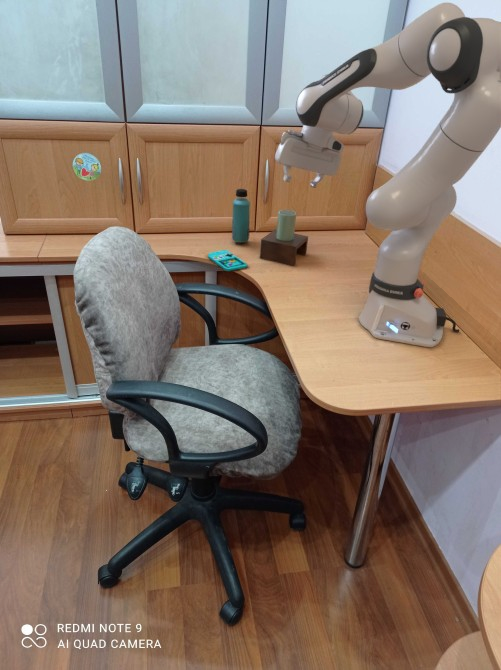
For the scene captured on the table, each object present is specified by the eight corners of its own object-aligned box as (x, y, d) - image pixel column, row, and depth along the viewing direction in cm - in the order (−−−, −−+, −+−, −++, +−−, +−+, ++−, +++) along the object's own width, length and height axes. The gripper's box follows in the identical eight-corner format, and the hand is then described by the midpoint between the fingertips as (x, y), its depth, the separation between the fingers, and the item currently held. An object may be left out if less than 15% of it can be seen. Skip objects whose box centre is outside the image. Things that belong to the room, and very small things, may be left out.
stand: (306, 254, 173) (308, 236, 169) (293, 266, 163) (295, 246, 160) (273, 247, 177) (274, 229, 173) (259, 258, 168) (261, 239, 164)
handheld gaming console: (226, 248, 171) (248, 264, 160) (226, 251, 171) (248, 267, 161) (205, 253, 167) (226, 268, 156) (205, 255, 167) (226, 271, 157)
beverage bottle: (248, 246, 177) (251, 192, 166) (231, 245, 176) (232, 191, 166) (249, 240, 182) (251, 187, 171) (231, 239, 182) (233, 186, 171)
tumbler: (296, 236, 168) (299, 211, 163) (289, 242, 163) (292, 216, 158) (280, 233, 170) (282, 208, 165) (273, 238, 165) (275, 213, 160)
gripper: (288, 130, 130) (273, 180, 137) (349, 147, 139) (331, 193, 146) (280, 125, 135) (265, 174, 141) (338, 142, 144) (322, 187, 150)
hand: (299, 184), depth 144 cm, fingers open, 8 cm apart
